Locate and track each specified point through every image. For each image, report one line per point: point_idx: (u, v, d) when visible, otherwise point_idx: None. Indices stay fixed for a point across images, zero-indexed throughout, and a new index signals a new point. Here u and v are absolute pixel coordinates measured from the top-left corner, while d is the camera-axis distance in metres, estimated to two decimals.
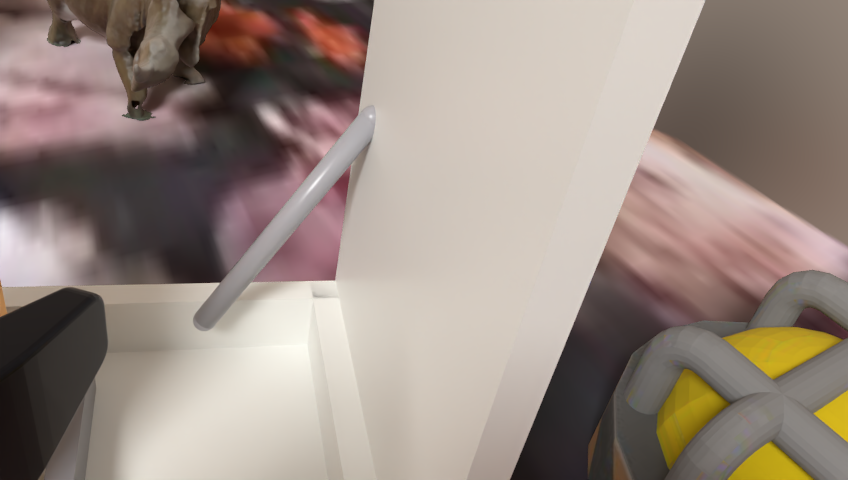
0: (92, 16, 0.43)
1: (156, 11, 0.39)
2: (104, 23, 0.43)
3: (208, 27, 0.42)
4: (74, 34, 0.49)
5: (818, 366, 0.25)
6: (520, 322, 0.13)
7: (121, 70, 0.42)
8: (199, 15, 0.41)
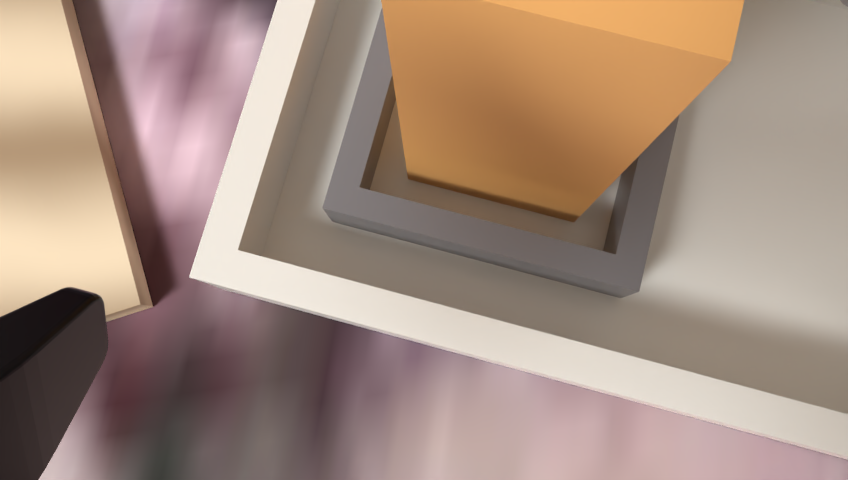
0: None
1: None
2: None
3: None
4: None
5: None
6: None
7: None
8: None
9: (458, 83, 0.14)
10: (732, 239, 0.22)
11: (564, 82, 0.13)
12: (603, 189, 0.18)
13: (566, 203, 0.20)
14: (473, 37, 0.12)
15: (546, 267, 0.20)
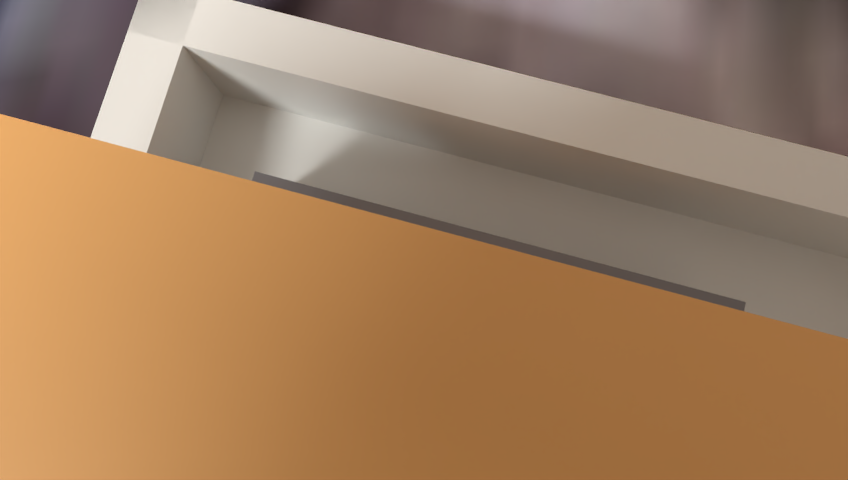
0: None
1: None
2: None
3: None
4: None
5: None
6: None
7: None
8: None
9: None
10: None
11: None
12: None
13: None
14: None
15: None
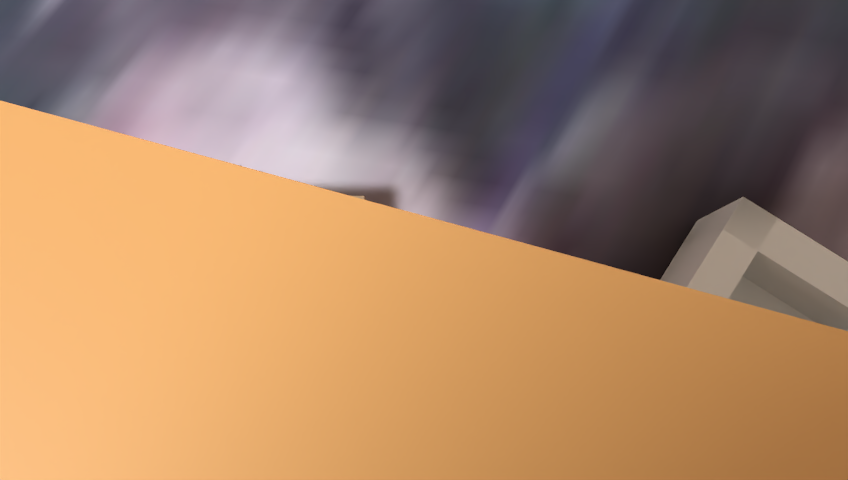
0: None
1: None
2: None
3: None
4: None
5: None
6: None
7: None
8: None
9: None
10: None
11: None
12: None
13: None
14: None
15: None
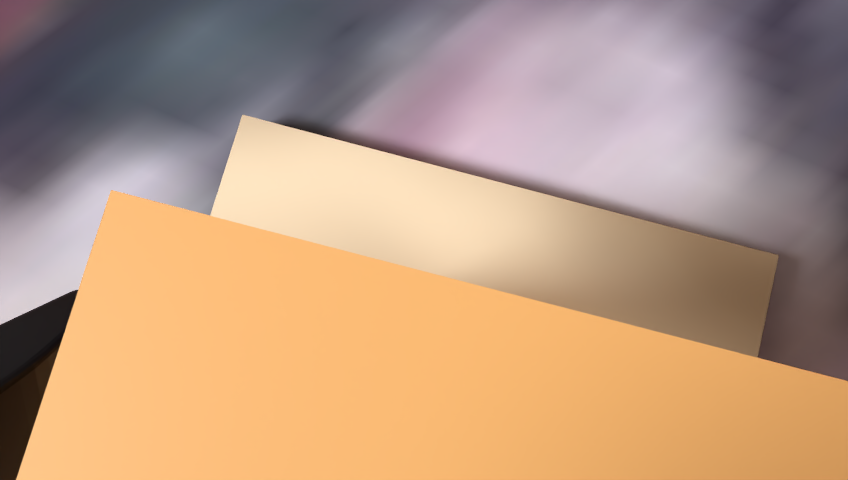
0: None
1: None
2: None
3: None
4: None
5: None
6: None
7: None
8: None
9: None
10: None
11: None
12: None
13: None
14: None
15: None
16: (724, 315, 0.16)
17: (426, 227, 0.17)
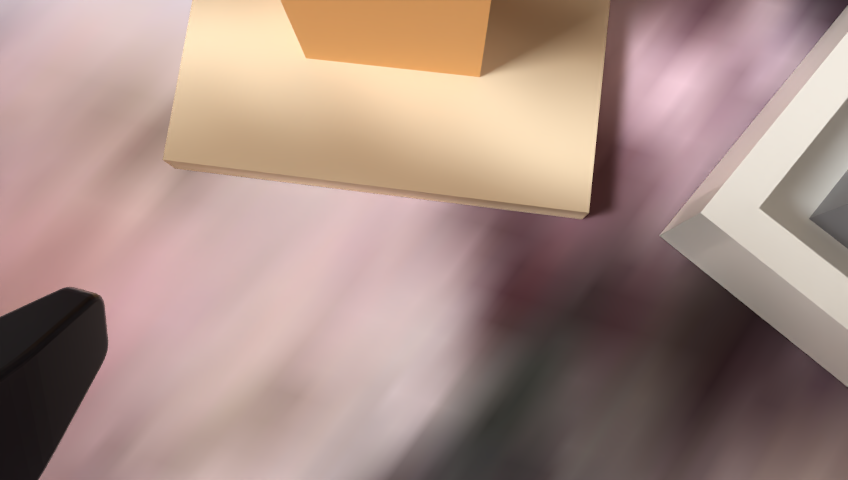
0: None
1: None
2: None
3: None
4: None
5: None
6: None
7: None
8: None
9: None
10: None
11: None
12: (486, 10, 0.18)
13: (462, 46, 0.20)
14: None
15: None
16: None
17: None
